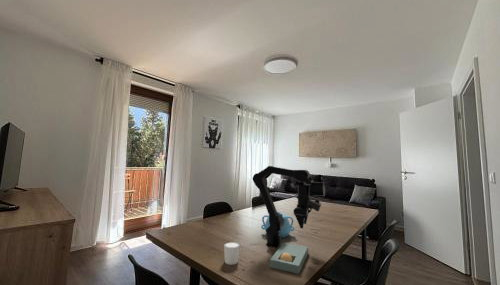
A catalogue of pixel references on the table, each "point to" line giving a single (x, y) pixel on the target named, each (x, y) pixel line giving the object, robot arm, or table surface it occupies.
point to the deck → (296, 253)
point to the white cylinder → (231, 252)
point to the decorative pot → (285, 229)
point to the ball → (286, 257)
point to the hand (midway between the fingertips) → (303, 226)
